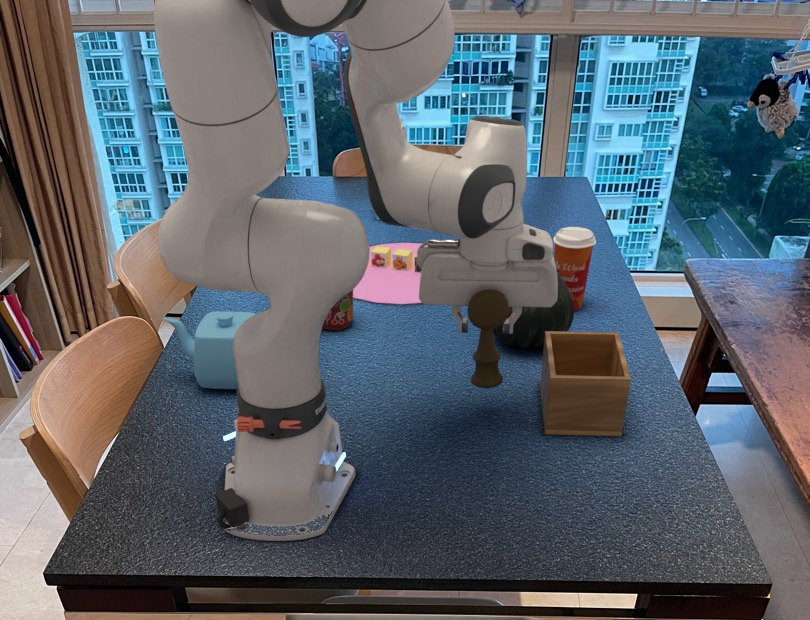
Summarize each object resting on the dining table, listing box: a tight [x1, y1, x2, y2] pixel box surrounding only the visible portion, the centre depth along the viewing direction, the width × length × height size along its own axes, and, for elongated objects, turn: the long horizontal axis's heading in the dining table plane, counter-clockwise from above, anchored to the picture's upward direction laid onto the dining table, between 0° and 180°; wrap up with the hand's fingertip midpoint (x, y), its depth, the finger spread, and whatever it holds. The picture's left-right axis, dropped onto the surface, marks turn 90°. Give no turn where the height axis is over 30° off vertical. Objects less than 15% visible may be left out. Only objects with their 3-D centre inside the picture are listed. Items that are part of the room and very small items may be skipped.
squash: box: [493, 273, 575, 349], centre depth 155 cm, size 14×15×15 cm
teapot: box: [162, 311, 257, 390], centre depth 146 cm, size 12×18×12 cm
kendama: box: [467, 289, 509, 389], centre depth 132 cm, size 6×10×20 cm, turn 179°
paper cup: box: [552, 226, 597, 312], centre depth 165 cm, size 8×8×14 cm
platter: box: [353, 242, 428, 306], centre depth 182 cm, size 32×32×3 cm
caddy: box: [539, 331, 632, 437], centre depth 137 cm, size 15×12×10 cm
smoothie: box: [322, 290, 354, 331], centre depth 159 cm, size 8×8×20 cm
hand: (485, 331), depth 132 cm, fingers closed on kendama, 5 cm apart
